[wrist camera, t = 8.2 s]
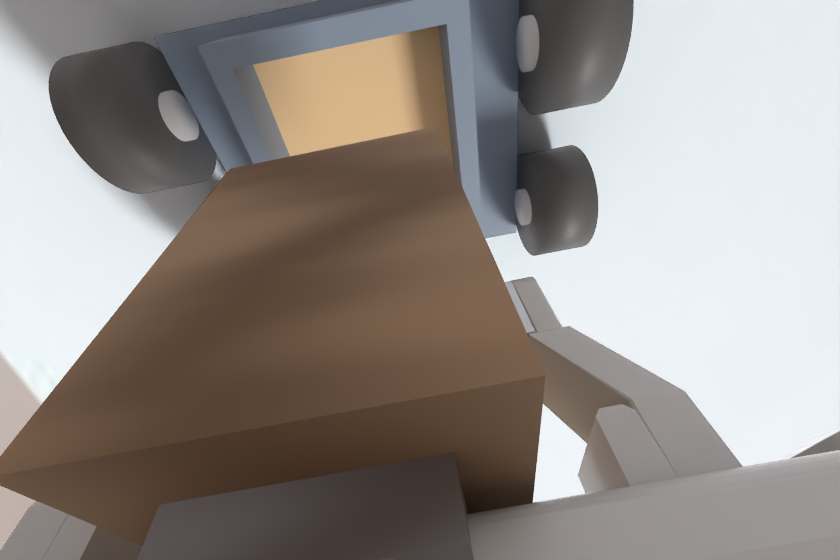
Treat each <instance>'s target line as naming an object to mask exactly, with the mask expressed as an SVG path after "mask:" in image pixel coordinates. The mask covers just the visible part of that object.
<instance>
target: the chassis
mask: <svg viewBox="0 0 840 560" xmlns="http://www.w3.org/2000/svg"><path fill="white" fill-rule="evenodd" d="M632 21H633V0H324V1H319V2H314V3H310V4H305V5H301V6H296V7H291V8H287V9H282V10H277V11H273V12H268V13H263V14H259V15H254V16H249V17H245V18H240V19H235V20H231V21H226V22H221V23H217V24H212V25H208V26H203V27H198V28H194V29H189V30H184V31H180V32H175V33H170V34H166V35H161V36H157V37H154V39H155V41H156V42H157V44H158V46H159V48H160V50H161V52H160V51H159V50H158V49H156V48H154V47H153V46H151V45H149V44H146V43H143V42H131V43H127V44H122V45H117V46H113V47H108V48H103V49H99V50H94V51H89V52H85V53H80V54H76V55H71V56H67V57H64V58H61V59H60V60H59V61H57V62H56V63H55V65H54V66H53V68H52V70H51V73H50V77H49V94H50V100H51V104H52V107H53V111H54V113H55V116H56V118H57V121H58V123H59V125H60V127H61V129H62V131H63V133H64V134H65V136H66V137H67V139H68V141H69V142H70V144H71V145H72V146H73V148H74V149H75V151H76V152H77V153H78V154H79V155H80V157H81V158H82V159H83V160H84V161H85V162H86V163H87V164H88V165H89V166H90V167H91V168H92V169H93V170H94V171H95V172H96V173H97V174H99V175H100V176H101V177H102V178H104V179H105V180H107V181H108V182H110V183H111V184H113V185H115V186H116V187H118V188H121V189H123V190H125V191H129V192H132V193H149V192H154V191H159V190H164V189H169V188H174V187H179V186H184V185H189V184H194V183H199V182H204V181H206V180H208V179H209V178H210V177H211V175H212V174H213V172H214V169H215V165H216V154H217V156H218V158H219V159H220V161H221V163H222V165H223V167H224V169H225V171H226V172H228V171H229V169H231V168H236V167H241V166H246V165H250V164H255V163H260V162H265V161H270V160H275V159H280V158H285V157H290V156H294V155H299V154H304V153H309V152H314V151H319V150H324V149H329V148H333V147H338V146H343V145H348V144H353V143H358V142H363V141H368V140H373V139H377V138H382V137H387V136H392V135H397V134H402V133H407V132H412V131H417V130H421V129H426V128H431V127H436V129H437V131H438V133H439V135H440V138H441V140H442V142H443V145H444V147H445V149H446V151H447V154H448V156H449V158H450V160H451V163H452V165H453V167H454V169H455V172H456V174H457V176H458V178H459V181H460V183H461V185H462V188H463V190H464V192H465V194H466V197H467V199H468V201H469V203H470V206H471V208H472V210H473V212H474V215H475V217H476V219H477V221H478V224H479V226H480V228H481V230H482V233H483V235H484V237H485V238H490V237H495V236H500V235H505V234H511V233H516V226H517V229H518V232H519V236H520V238H521V241H522V243H523V245H524V247H525V249H526V250H527V251H528V253H530V254H531V255H534V256H535V255H540V254H545V253H550V252H556V251H561V250H566V249H572V248H577V247H582V246H585V245H587V244H588V243H589V242H590V240H591V239H592V237H593V234H594V232H595V228H596V224H597V217H598V194H597V187H596V182H595V178H594V174H593V171H592V168H591V165H590V163H589V161H588V159H587V157H586V156H585V154H584V153H583V152H582V151H581V150H580V149H579V148H578V147H576V146H573V145H570V146H565V147H560V148H555V149H550V150H545V151H539V152H534V153H529V154H524V155H520V156H518V157H517V136H518V94H519V97H520V99H521V102H522V104H523V106H524V108H525V109H526V111H527V112H528V113H529V114H531V115H538V114H543V113H548V112H553V111H558V110H563V109H568V108H573V107H578V106H582V105H587V104H592V103H597V102H599V101H601V100H602V99H603V98H605V97H606V95H607V94H608V93H609V92H610V91H611V89H612V88H613V86H614V84H615V83H616V81H617V79H618V77H619V74H620V72H621V70H622V67H623V64H624V61H625V58H626V54H627V51H628V46H629V42H630V36H631V30H632Z"/></svg>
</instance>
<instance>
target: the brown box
mask: <svg viewBox="0 0 840 560" xmlns="http://www.w3.org/2000/svg"><path fill="white" fill-rule="evenodd" d="M545 376H546V375H545V373H544V371H543V368H542V366H541V364H540V362H539V359H538V357H537V355H536V353H535V350H534V348H533V346H532V344H531V341H530V339H529V337H528V335H527V332H526V330H525V328H524V325H523V323H522V321H521V319H520V316H519V314H518V312H517V310H516V307H515V305H514V303H513V301H512V298H511V296H510V294H509V292H508V289H507V287H506V285H505V283H504V280H503V278H502V276H501V273H500V271H499V269H498V267H497V264H496V262H495V260H494V258H493V255H492V253H491V251H490V249H489V246H488V244H487V242H486V240H485V237H484V235H483V233H482V230H481V228H480V226H479V224H478V221H477V219H476V217H475V215H474V212H473V210H472V208H471V206H470V203H469V201H468V199H467V197H466V194H465V192H464V190H463V188H462V185H461V183H460V181H459V178H458V176H457V174H456V172H455V169H454V167H453V165H452V163H451V160H450V158H449V156H448V154H447V151H446V149H445V147H444V145H443V142H442V140H441V138H440V135H439V133H438V131H437V129H436V127H431V128H426V129H421V130H417V131H412V132H407V133H402V134H397V135H392V136H387V137H382V138H377V139H373V140H368V141H363V142H358V143H353V144H348V145H343V146H338V147H333V148H329V149H324V150H319V151H314V152H309V153H304V154H299V155H294V156H290V157H285V158H280V159H275V160H270V161H265V162H260V163H255V164H250V165H246V166H241V167H236V168H231V169H229V171H228V172H227V173H226V174H225V176H224V177H223V178H222V179H221V181H220V182H219V183H218V184H217V186H216V187H215V188H214V189H213V191H212V192H211V193H210V194H209V196H208V197H207V198H206V199H205V201H204V202H203V203H202V204H201V206H200V207H199V208H198V209H197V211H196V212H195V213H194V214H193V216H192V217H191V218H190V219H189V221H188V222H187V223H186V225H185V226H184V227H183V228H182V230H181V231H180V232H179V233H178V235H177V236H176V237H175V238H174V240H173V241H172V242H171V243H170V245H169V246H168V247H167V248H166V250H165V251H164V252H163V253H162V255H161V256H160V257H159V258H158V260H157V261H156V262H155V263H154V265H153V266H152V267H151V268H150V270H149V271H148V272H147V273H146V275H145V276H144V277H143V278H142V280H141V281H140V282H139V283H138V285H137V286H136V287H135V288H134V290H133V291H132V292H131V293H130V295H129V296H128V297H127V298H126V300H125V301H124V302H123V303H122V305H121V306H120V307H119V308H118V310H117V311H116V312H115V313H114V315H113V316H112V317H111V318H110V320H109V321H108V322H107V323H106V325H105V326H104V327H103V328H102V330H101V331H100V332H99V333H98V335H97V336H96V337H95V338H94V340H93V341H92V342H91V343H90V345H89V346H88V347H87V348H86V350H85V351H84V352H83V353H82V355H81V356H80V357H79V358H78V360H77V361H76V362H75V364H74V365H73V366H72V367H71V369H70V370H69V371H68V372H67V374H66V375H65V376H64V377H63V379H62V380H61V381H60V382H59V384H58V385H57V386H56V387H55V389H54V390H53V391H52V392H51V394H50V395H49V396H48V397H47V399H46V400H45V401H44V402H43V404H42V405H41V406H40V407H39V409H38V410H37V411H36V412H35V414H34V415H33V416H32V417H31V419H30V420H29V421H28V422H27V424H26V425H25V426H24V427H23V429H22V430H21V431H20V432H19V434H18V435H17V436H16V437H15V439H14V440H13V441H12V443H11V444H10V445H9V446H8V447H7V449H6V450H5V451H4V453H3V454H2V455H1V456H0V485H1V486H3V487H5V488H8V489H10V490H12V491H15V492H17V493H19V494H22V495H24V496H26V497H29V498H31V499H34V500H36V501H38V502H40V503H43V504H45V505H47V506H50V507H52V508H55V509H57V510H59V511H62V512H64V513H66V514H69V515H71V516H73V517H76V518H78V519H80V520H83V521H85V522H88V523H90V524H92V525H95V526H97V527H99V528H102V529H104V530H106V531H109V532H111V533H113V534H116V535H118V536H120V537H123V538H125V539H128V540H130V541H132V542H135V543H137V544H139V545H142V548H141V550H140V553H139V555H138V557H137V560H474V558H473V552H472V546H471V540H470V534H469V528H468V522H467V514H471V513H477V512H483V511H488V510H494V509H500V508H506V507H512V506H517V505H523V504H529V503H532V502H533V492H534V483H535V473H536V463H537V453H538V444H539V434H540V424H541V415H542V405H543V395H544V385H545Z"/></svg>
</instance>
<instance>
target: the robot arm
mask: <svg viewBox="0 0 840 560" xmlns="http://www.w3.org/2000/svg"><path fill="white" fill-rule="evenodd" d="M504 283H505V285H506V287H507V289H508V292H509V294H510V296H511V298H512V301H513V303H514V305H515V307H516V310H517V312H518V314H519V316H520V319H521V321H522V323H523V325H524V328H525V330H526V332H527V335H528V337H529V339H530V341H531V344H532V346H533V348H534V350H535V353H536V355H537V357H538V359H539V362H540V364H541V366H542V368H543V371H544V373H545V375H546V376H545V385H544V395H543V404H544V405H545V406H546V407H548V408H549V409H550V410H551V411H552V412H553V413H554V414H555V415H556V416H558V417H559V418H560V419H561V420H562V421H563V422H564V423H565V424H566V425H567V426H569V427H570V428H571V429H572V430H573V431H574V432H575V433H576V434H577V435H579V436H580V437H581V438H582V439H583V440H584V441H585V442H586V443H587V447H586V450H585V454H584V457H583V460H582V464H581V467H580V470H579V473H578V476H579V478H580V481H581V483H582V486H583V488H584V491H585V493H586V494H581V495H576V496H570V497H564V498H558V499H552V500H546V501H541V502H535V503H529V504H523V505H517V506H512V507H506V508H500V509H494V510H488V511H483V512H477V513H471V514H467V522H468V528H469V534H470V540H471V546H472V552H473V558H474V560H840V450H837V451H832V452H826V453H820V454H815V455H808V456H802V457H797V458H791V459H785V460H779V461H773V462H768V463H762V464H756V465H750V466H744V467H743V466H742V465H741V464H740V462H739V461H738V460H737V459H736V457H735V456H734V455H733V453H732V452H731V451H730V449H729V448H728V447H727V446H726V444H725V443H724V442H723V440H722V439H721V438H720V436H719V435H718V434H717V433H716V431H715V430H714V429H713V427H712V426H711V425H710V423H709V422H708V421H707V420H706V418H705V417H704V416H703V414H702V413H701V412H700V410H699V409H698V408H697V407H696V405H695V404H694V403H693V401H692V400H691V399H690V397H689V396H688V395H687V394H686V392H685V391H683V390H681V389H680V388H678V387H676V386H674V385H673V384H671V383H669V382H667V381H665V380H664V379H662V378H660V377H658V376H657V375H655V374H653V373H651V372H650V371H648V370H646V369H644V368H642V367H641V366H639V365H637V364H635V363H634V362H632V361H630V360H628V359H627V358H625V357H623V356H621V355H619V354H618V353H616V352H614V351H612V350H611V349H609V348H607V347H605V346H603V345H602V344H600V343H598V342H596V341H595V340H593V339H591V338H589V337H588V336H586V335H584V334H582V333H580V332H579V331H577V330H575V329H573V328H572V327H570V326H567V327H562V326H561V324H560V322H559V321H558V319H557V317H556V315H555V313H554V312H553V310H552V308H551V306H550V304H549V303H548V301H547V299H546V297H545V296H544V294H543V292H542V290H541V288H540V287H539V285H538V283H537V281H536V280H535V279H534V278H533V277H527V278H523V279H518V280H513V281H510V282H504ZM141 548H142V545H139V544H137V543H135V542H132V541H130V540H128V539H125V538H123V537H120V536H118V535H116V534H113V533H111V532H109V531H106V530H104V529H102V528H99V527H97V526H95V525H92V524H90V523H88V522H85V521H83V520H80V519H78V518H76V517H73V516H71V515H69V514H66V513H64V512H62V511H59V510H57V509H55V508H52V507H50V506H47V505H45V504H43V503H40V502H38V501H36V502H35V503H34V504H33V505H32V506H31V507H29V508H28V510H27V511H26V513H25V514H24V516H23V517H22V519H21V520H20V522H19V523H18V525H17V526H16V528H15V529H14V531H13V532H12V534H11V535H10V537H9V538H8V540H7V541H6V543H5V544H4V546H3V547H2V549H1V550H0V560H137V557H138V555H139V553H140V550H141Z"/></svg>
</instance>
